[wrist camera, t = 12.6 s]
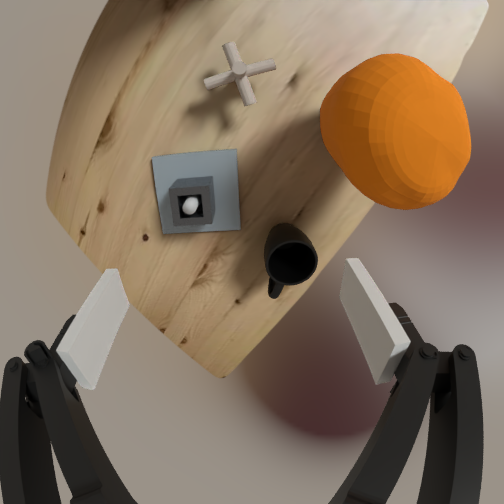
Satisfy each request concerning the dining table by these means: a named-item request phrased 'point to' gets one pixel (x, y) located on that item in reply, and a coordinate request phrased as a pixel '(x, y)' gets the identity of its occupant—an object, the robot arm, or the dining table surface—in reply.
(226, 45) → the light grey toy jack
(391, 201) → the orange egg-shaped ornament
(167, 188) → the post block
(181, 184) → the collar
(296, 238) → the mug
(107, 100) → the dining table surface
